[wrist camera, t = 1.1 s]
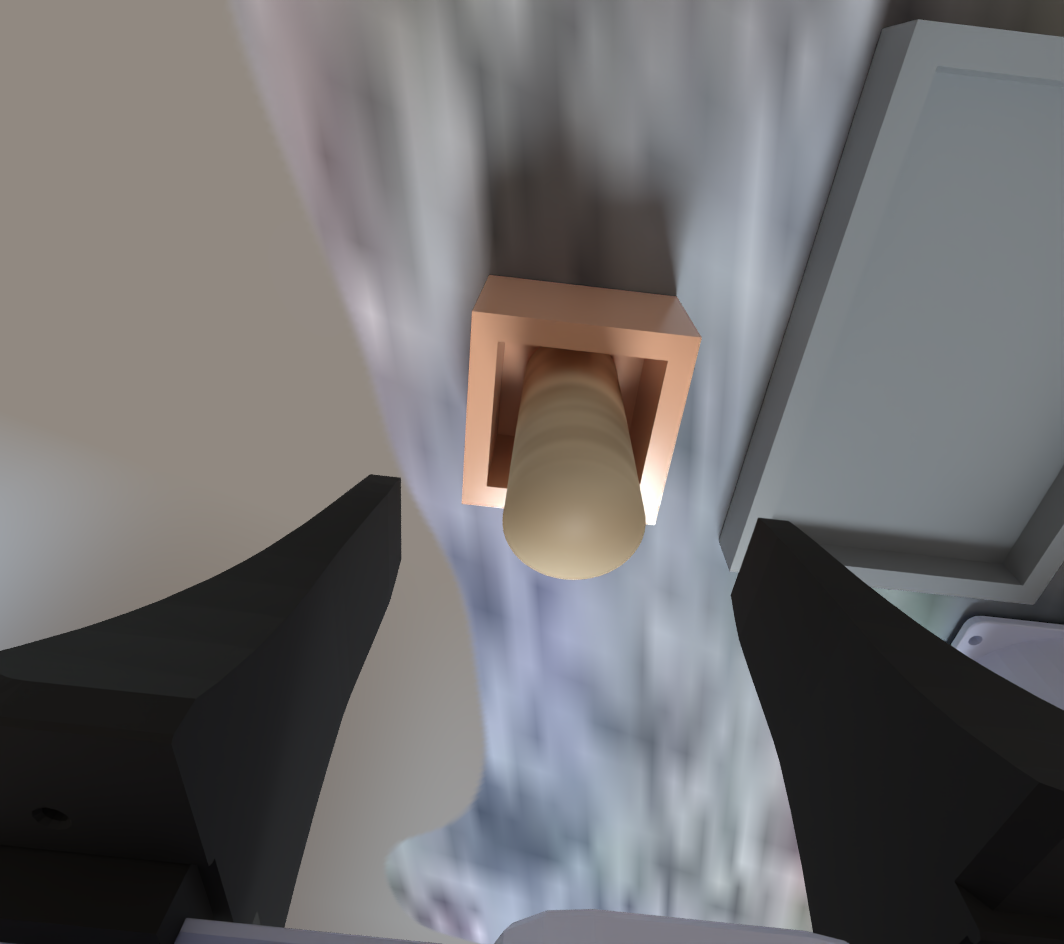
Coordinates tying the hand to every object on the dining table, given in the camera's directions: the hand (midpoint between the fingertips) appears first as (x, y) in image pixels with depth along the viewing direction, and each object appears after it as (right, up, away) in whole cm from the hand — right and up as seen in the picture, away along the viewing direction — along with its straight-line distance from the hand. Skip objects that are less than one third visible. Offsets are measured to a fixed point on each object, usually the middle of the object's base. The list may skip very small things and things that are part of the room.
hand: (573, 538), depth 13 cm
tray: (+13, +5, +7) cm, 15 cm away
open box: (0, +5, +8) cm, 9 cm away
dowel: (0, +4, +7) cm, 8 cm away
